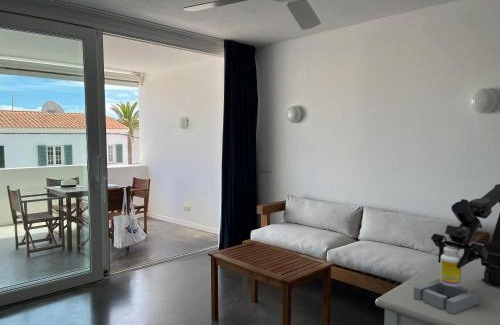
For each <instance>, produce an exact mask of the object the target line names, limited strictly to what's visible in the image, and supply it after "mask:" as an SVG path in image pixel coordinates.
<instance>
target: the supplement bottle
mask: <svg viewBox="0 0 500 325" xmlns="http://www.w3.org/2000/svg"><path fill="white" fill-rule="evenodd" d="M458 254H459V248H456V247H452V246H448V247H444V254H442V255H441V258H440V263H439V279H440V282H441V283H442V284H444V285H446V286H452V287H456V286H461V280H462V278H461V276H462V267H461V268H460V269H458V268H457V265H458V263H459V261H460V259H461V257H460V256H459V255H458Z"/></svg>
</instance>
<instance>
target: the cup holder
mask: <svg viewBox="0 0 500 325" xmlns="http://www.w3.org/2000/svg"><path fill="white" fill-rule="evenodd" d="M441 293H443V294H441ZM448 297H450V298H448ZM479 297H480V293H479V292H477V291H475V290H469V288H465V287H464V286H461V285H459V286H456V287H452V286H446V285H444V284H442V283H441V282H440V278H437V279H435V280H432V281H429V282H426V283H422V284H420V285H416V286H414V287H413V299H416V300H418V301H422V302H423V303H426V304H428V305H430V306H432V307H435V308H437V309H440V310H442V311H443V310H445V311H446V312H447V313H449V314H452V315H455V314H457V313H460V312H463V311H464V310H467V309H469V308H470V309H471V308H472V307H474V306H477V305H479V302H480V301H479V300H480V298H479Z"/></svg>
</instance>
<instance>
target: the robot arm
mask: <svg viewBox="0 0 500 325" xmlns="http://www.w3.org/2000/svg"><path fill="white" fill-rule="evenodd" d="M497 204H499V205H500V183H498V184H495V185H494V187H493V188H491V190H489V191H488V192H487V193H486V194H485V195H483V196H482V197H480V198H475V199H472V200H468V199H465V198H462V199H461V200H460V201H457V202H455V203H454V204H452V205H451V212H452V213H453V215H454V216H455V218H456V220H458V222H459V226H457V225H456V226H454V225H450V224H446V229H445V232H444V234H445V235H444V234H439V233H435V232H434V233H433V234H432V235H431V237H430V239H431V241H432V242H433V244H434V245H435V247H437V248H438V258H437V259H438V260H437V262H438V263H439V264H440V258H441V255H442V254H444V247H454V248H457V249H461V250H463V254H462V256H461V257H460V258H461V259H460V261H459V263H458V265H457V268H458V269H460V268H461V269H462V268H463V267H464V266H466V265H467V264H469V263H471V262H473V261H475V260H476V261H478V260H479V259H480V264H481V266H483V267H484V272H483V273H484V274H483V278H481V280H482V281H483V282H485V283H487V284H488V285H490V286H493V287H494V286H500V212H499V213H498V217H497V220H496V223H495V227H494V230H493V233H492V237H491V239H490V241H489V242H487V243H486V242H485V243H483V244H481V243H477V242H472V241H475V240H476V237H475V235H476V233H477V231H478V229H482V228H483V224H482V222H481V220H480V219H484V220H485V219H488V218H489V216H490V215H492V208H494V207H495V206H496V205H497ZM446 235H448V238H449V239H451V240H449V239H447V238H446Z"/></svg>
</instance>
